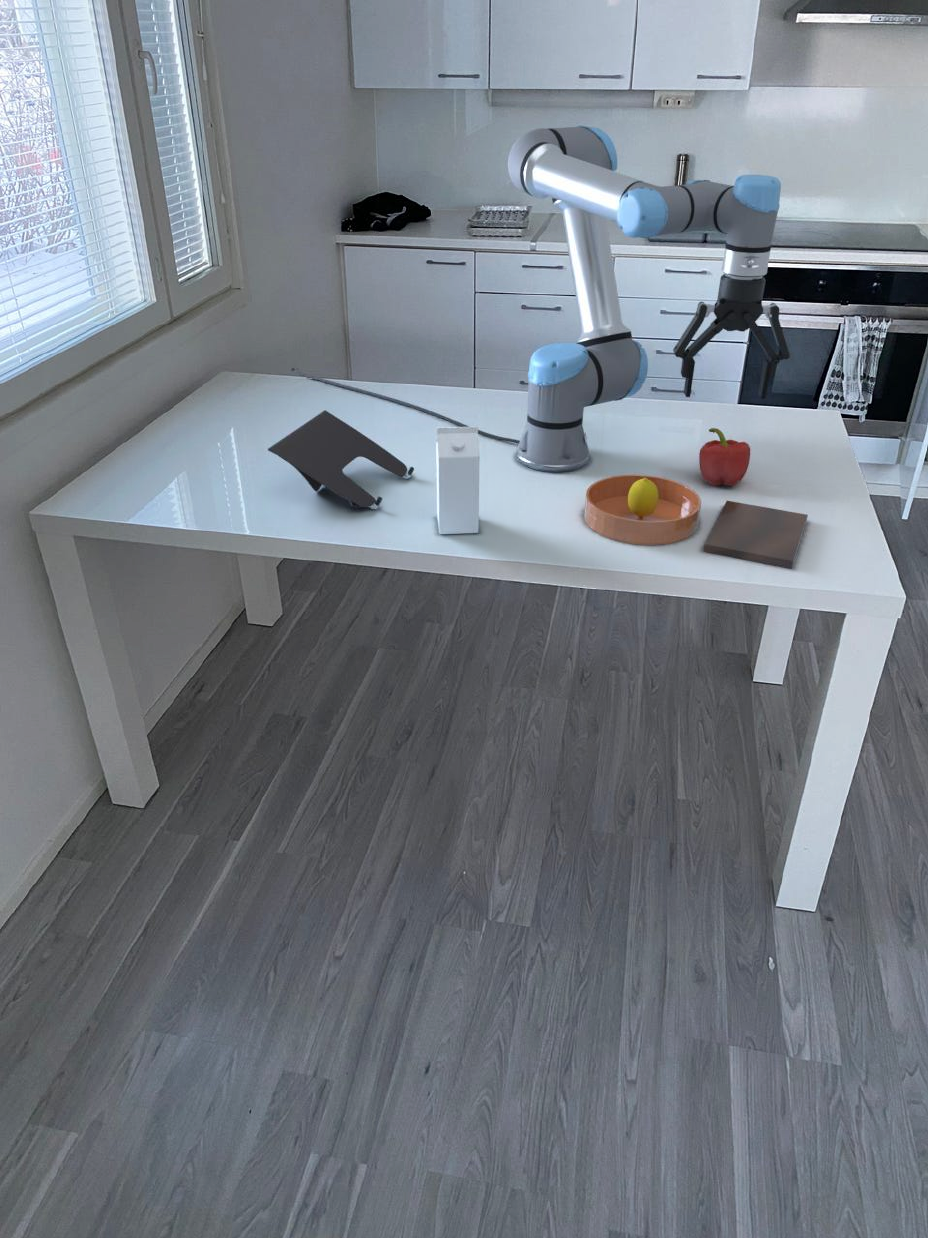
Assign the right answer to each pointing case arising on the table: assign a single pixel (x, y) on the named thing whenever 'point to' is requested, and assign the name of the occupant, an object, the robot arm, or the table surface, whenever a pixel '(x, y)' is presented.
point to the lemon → (643, 497)
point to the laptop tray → (335, 457)
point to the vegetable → (724, 460)
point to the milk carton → (457, 480)
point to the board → (757, 534)
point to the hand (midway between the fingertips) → (724, 395)
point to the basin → (660, 527)
